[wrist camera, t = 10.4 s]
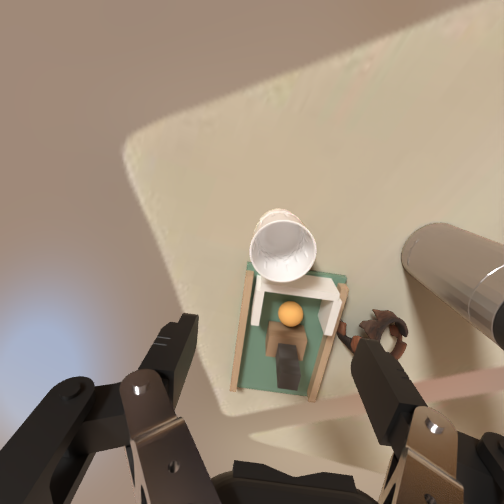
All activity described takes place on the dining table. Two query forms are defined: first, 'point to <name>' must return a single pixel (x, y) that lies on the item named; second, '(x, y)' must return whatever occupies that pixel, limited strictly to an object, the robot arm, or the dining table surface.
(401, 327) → the pottery mug
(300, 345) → the striker
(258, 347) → the pitch
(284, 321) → the ball
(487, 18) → the dining table surface
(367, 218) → the dining table surface
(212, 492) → the robot arm
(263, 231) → the white cup
